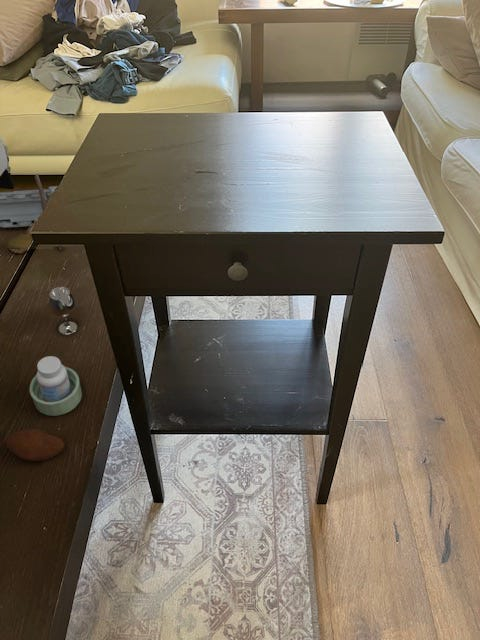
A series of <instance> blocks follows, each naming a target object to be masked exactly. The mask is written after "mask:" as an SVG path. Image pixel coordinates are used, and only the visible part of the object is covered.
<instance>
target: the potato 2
mask: <svg viewBox="0 0 480 640" xmlns="http://www.w3.org/2000/svg"><path fill="white" fill-rule="evenodd" d="M5 445H6V446H7V449H8V450H10V452H12V453H13V454H14V455H16V456H17V457H18V458H21V459H22V460H24V461H26V462H27V461H28V462H40V461H47V460H49V459H51V458H54V457H55V456H57V455H59V454H60V453H61V452H62V451H63V450H64V448H65V443H64V440H63V439H62V438H60V437H58V436H57V435H53V434H49V433H47V432H45V431H43V430H41V429H36V428H27V429H21V430H17V431H15V432H13V433H11V434H10V435H9V436H7V438H6V440H5Z"/></svg>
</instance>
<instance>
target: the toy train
mask: <svg viewBox="0 0 480 640" xmlns="http://www.w3.org/2000/svg"><path fill="white" fill-rule="evenodd" d="M58 186H59V185H55V186H53V185H52V186H48V188H46V189H44V188H43V190H44V197H45V202H46V204H47V202H48V199H49V197H50V195H51V194H52V193H53V192H54V191H55V189H56V188H57V187H58ZM42 212H43V209H42V204H41V197H40V193H39V189H25V190H14V191H3V192H0V228H4V229H6V228H22V227H33V226H32V225H34V222H36V220H37V218H38V217H39V216H40V214H41V213H42ZM14 223H16V224H14Z"/></svg>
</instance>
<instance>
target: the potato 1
mask: <svg viewBox="0 0 480 640" xmlns="http://www.w3.org/2000/svg"><path fill="white" fill-rule="evenodd" d="M30 234H31V233H23V234H19V235H17V236H14V237H12V238H11V239H10V238H9V240H8V241H7V243H6V247H7V249H8V248H10V249H18V250H20V249H26V248H28V247H29V246H30V245H31V244H32V242H31V240H32V239H31V237H30ZM37 247H38V245H36V246H34V248H33V249H35V248H37Z"/></svg>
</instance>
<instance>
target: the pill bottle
mask: <svg viewBox="0 0 480 640" xmlns="http://www.w3.org/2000/svg"><path fill="white" fill-rule="evenodd" d="M64 366H65V365H64V364H62V362H61V359H59V357H57V356H53V355H49V356H45V357H43V358H41V359H40V360H39V361H38V362H37V366H36V369H37V372H36V375H37V381H38V384H39V387H40V390H41V393H42V396H43V399H44V401H45V402H55V401H60V400H62V399H64V398H66V397H68V396H69V395H70V394H71V393H72V390H71V386H70V382H69V378H68V374H67V371H66V368H65V367H66V366H65V367H64Z"/></svg>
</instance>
